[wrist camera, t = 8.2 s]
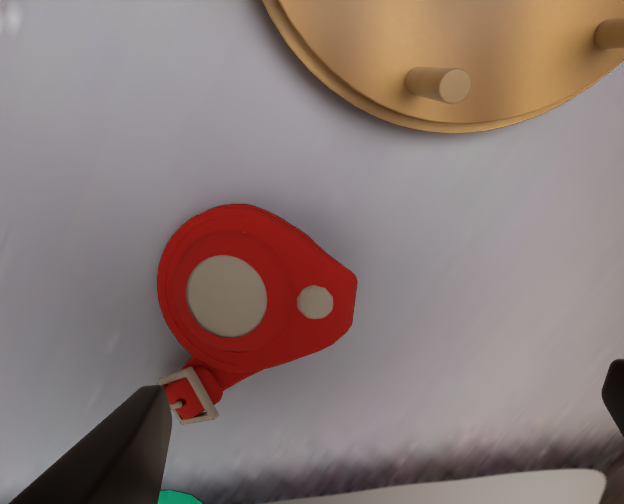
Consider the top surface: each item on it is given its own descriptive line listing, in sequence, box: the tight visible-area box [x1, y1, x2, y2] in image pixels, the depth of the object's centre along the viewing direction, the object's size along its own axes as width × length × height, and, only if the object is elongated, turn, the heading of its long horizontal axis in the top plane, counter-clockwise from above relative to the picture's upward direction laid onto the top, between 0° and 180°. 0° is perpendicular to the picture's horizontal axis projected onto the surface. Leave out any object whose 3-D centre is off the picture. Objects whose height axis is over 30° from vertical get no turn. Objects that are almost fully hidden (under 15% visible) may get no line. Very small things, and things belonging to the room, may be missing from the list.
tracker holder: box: [157, 204, 357, 425], centre depth 21 cm, size 12×4×10 cm
